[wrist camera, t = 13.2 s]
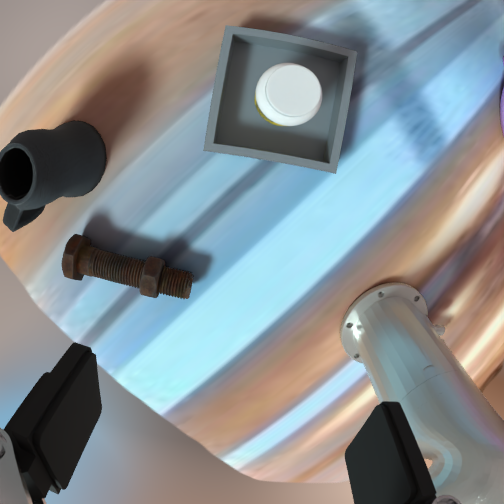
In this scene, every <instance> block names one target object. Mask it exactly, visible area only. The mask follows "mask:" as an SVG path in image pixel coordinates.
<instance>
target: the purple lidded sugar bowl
mask: <svg viewBox="0 0 504 504" xmlns="http://www.w3.org/2000/svg"><path fill="white" fill-rule="evenodd" d="M503 65H504V57H503ZM500 120H501V127H502V132H503V136H504V88H503V91H502V96H501V101H500Z"/></svg>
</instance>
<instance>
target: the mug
mask: <svg viewBox="0 0 504 504" xmlns="http://www.w3.org/2000/svg"><path fill="white" fill-rule="evenodd" d="M106 159H107V158H106V149H105V144H104V142H103V140H102V137H101V135H100V134H99V133H98V131H97V130H96V129H95V128H94V127H93V126H91V125H90V124H88V123H86V122H83V121H71V122H68V123H64V124H62V125H60V126H58V127H56V128H55V129H53V130H47V129H37V130H27V131H24V132H21V133H19V134H18V135H17V136H15V137H14V138H13V139H12V140H11V142H10V143H9V144H8V145H7V146H6V147H4V148H3V149H2V150H1V152H0V195H1V196H2V198H3V199H4V200H5V201H6V202H8V204H7V207H6V209H5V213H4V217H3V223H4V224H5V225H6V226H7V227H8V228H9V229H10V230H11V231H12V232H14V231H16V230H18V229H20V228H22V227H23V226H25V225H27V224H28V223H30V222H32V221H33V220H35V219H36V218H37V217H38V216H39V215H40V214H41V213H42V211H43V210H44V208H45V205H46V204H49V203H51V202H53V201H54V200H56V199H57V198H59V197H62V196H64V197H78V196H84V195H85V194H87V193H89V192H90V191H92V190H93V189H94V188H95V187H96V186H97V184H98V183H99V182H100V180H101V178H102V176H103V174H104V171H105V166H106Z"/></svg>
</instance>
